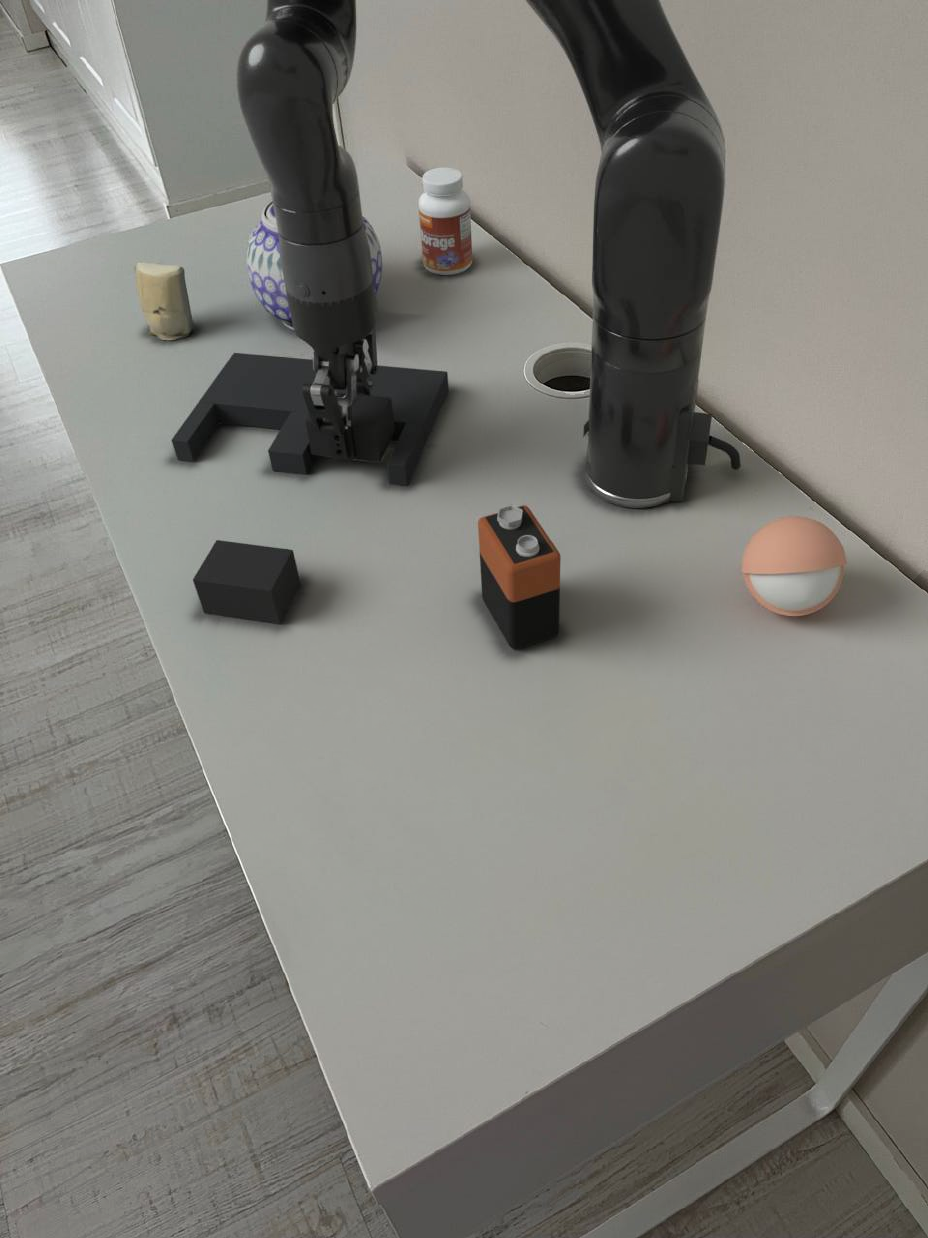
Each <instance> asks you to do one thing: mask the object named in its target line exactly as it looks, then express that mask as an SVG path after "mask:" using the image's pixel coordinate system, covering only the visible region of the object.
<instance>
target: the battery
mask: <svg viewBox="0 0 928 1238" xmlns="http://www.w3.org/2000/svg"><path fill="white" fill-rule="evenodd" d="M477 528H478V529H477V530H478V531H477V532H478V546H479V547H478V549H479V564H480V580H481V581H480V584H481V597H482V601H483V603H484V604H485V606H486V608H487V610H488V611H489V613H490V615H491V616H492V618H493V620H494V622H495V623H496V626H497V627H498V629H499V630H500V632H501V634H502V636H503V638H504V639H505V641H506V643H507V644H508V646H509V647H510V649H512V650H518V649H522V648H524V647H527V646H530V645H533V644H537V643H540V642H543V641H546V640H549V639H552V638H555V637H558V635H559V634H560V611H561V610H560V607H561V605H560V604H561V603H560V601H561V599H560V598H561V553H560V552H559V550H558V548H557V547H556V546H555V544H554V542H553V541H552V540H551V538H550V537H549V535H548V534H547V532H546V531H545V530H544V529H545V528H543V527H542V525H541V524H540V522H539V521H538V519H537V518H536V516H535V515H534V513H533V512H532V510H531V509H530V508H529V507H528V505H525V504H524V505H523V504H522V505H519V506H515V505H513V504H509V505H505V506H501V507H499V508H498V510H497V512H495V513H492V514H488V515H484V516H482V517H480V518H478V520H477Z"/></svg>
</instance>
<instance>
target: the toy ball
mask: <svg viewBox="0 0 928 1238" xmlns="http://www.w3.org/2000/svg"><path fill="white" fill-rule="evenodd" d="M743 551H744V552H743V555H742V560H741V572H742V575H743V576H742V577H743V580H744V583H745V586H746V588H747V590H748V592H749V593H750V595H751V596H752V597H753V599H754V600H755V601H756V602H757V603H758V604H759V605H761V606H762V607H763V608H765V609H766V610H769V611H770V612H772V613H774V614H778V615H781V616H787V617H801V616H806V615H810V614H813V613H815V612H817V611H819V610H821V609H823V608H824V607H825V606H826V605H828V604H829V603H830V602H831V601H832V600H833V598H835V596H837V593H838V591H839V589H840V588H841V585H842V583H843V578H844V573H845V565H847V564H848V561H847V560H848V559H847V555H846V551H845V548H844V546H843V544H842V541H840V539H839V537H838V536H837V535H836V533H835V532H834V531H832V530H831V528H829V526H827V525H825V524H824V523H822V522H821V521H818V520H816V519H813V518H810V517H804V516H797V515H793V516H792V515H791V516H784V517H780V518H778V519H774V520H771V521H770V522H768V523H766V524H765V525H763V526H762V527H760V528H759V529H758V530H757V531H756V532H755V533H754V534H753V535H752V537H751V538H750V539H749V541H748V542H747V544H746V546H745V549H744V550H743Z"/></svg>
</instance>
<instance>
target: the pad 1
mask: <svg viewBox="0 0 928 1238" xmlns="http://www.w3.org/2000/svg"><path fill="white" fill-rule="evenodd" d="M192 583H193V584H194V587H195V591H196V593H197V598H198V599H199V602H200V605H201V608H202V612H203V613H204V614H208V615H215V616H222V617H228V618H237V619H241V620H242V619H243V620H249V621H256V622H261V623H269V624H277V625H281V624H282V622H283V620H284V618H285V616H286V614H287V612H288V610H289V608H290V606H291V604H292V602H293V600H294V598H295V596H296V594H297V593H298V590H299V588H300V586H301V584H302V583H301V579H300V574H299V571H298V565H297V562H296V558H295V553H294V550H293V549H289V548H283V547H275V546H266V545H259V544H251V543H242V542H235V541H226V540H220V539H217V540H215V542H214V544H213V545H212V547H211V549H210V550H209V551H208V554H207V555H206V556H205V559H204V560H203V561H202V564H201V565H200V567H199V568H198V570H197V572H196V573H195V575H194V577H193V578H192Z"/></svg>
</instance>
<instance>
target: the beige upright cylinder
mask: <svg viewBox="0 0 928 1238" xmlns="http://www.w3.org/2000/svg"><path fill="white" fill-rule="evenodd" d="M133 272H134V274H135V279H136V290H137V296H138V301H139V305H140V308H141V311H142V313H143V317H144V319H145V322H146V324H147V325H148V327H149V334H150V335H152V336H156V337H157V338H158V339H159V340H162V341H174V340H177V339H180V338H187V337H190V336H191V335H192V334H193V333H194V331H195V326H194V324H195V323H194V320H193V315H192V310H191V305H190V298H189V293H188V287H187V283H186V275H185V274H186V273H185V268H184V267H183V266H181V265H171V264H163V263H155V262H154V263H153V262H147V261H141V262H138V263H136V264H135V265H134V267H133Z"/></svg>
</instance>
